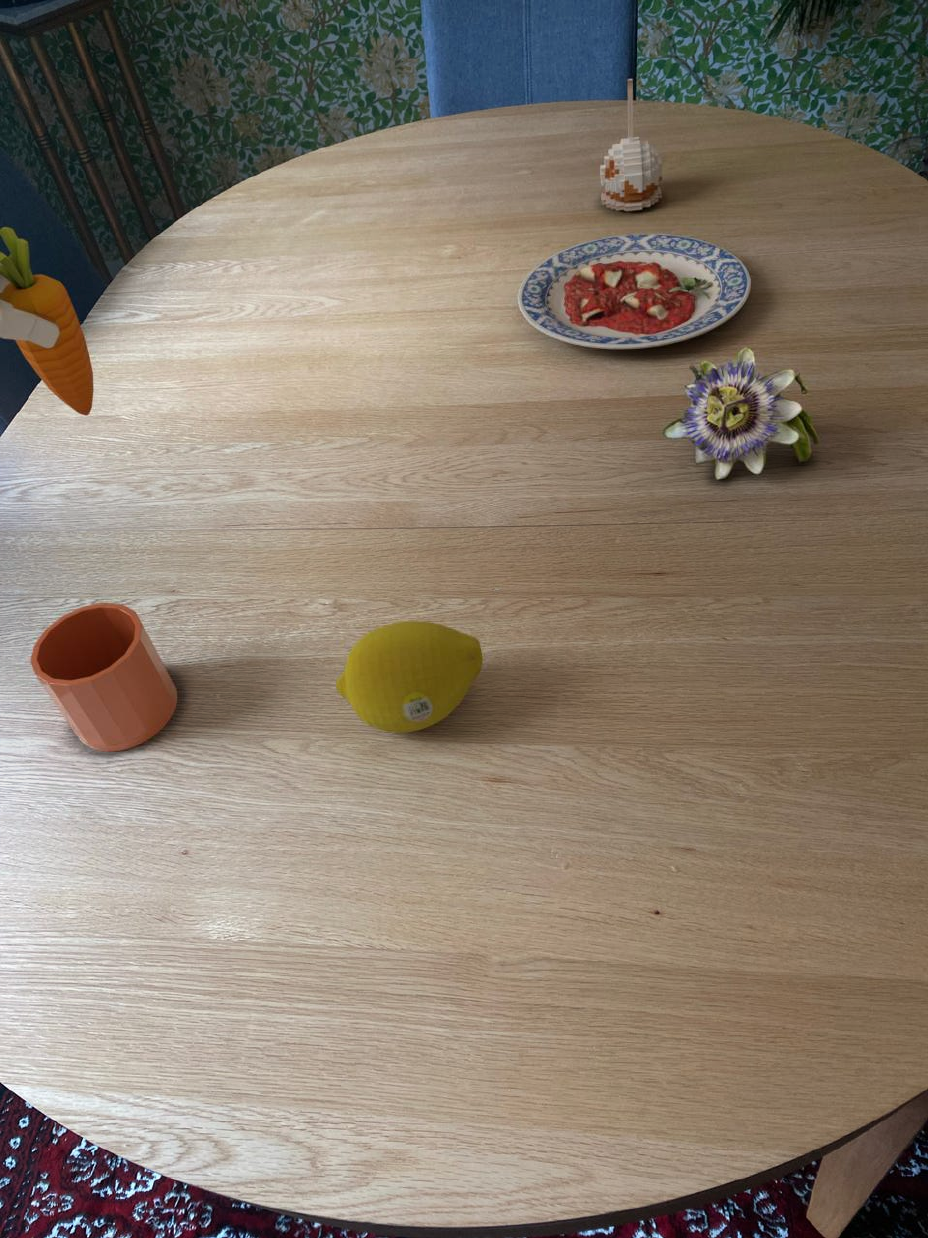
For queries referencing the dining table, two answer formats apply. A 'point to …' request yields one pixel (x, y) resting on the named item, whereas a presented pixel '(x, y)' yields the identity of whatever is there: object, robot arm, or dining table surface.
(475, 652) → the lemon
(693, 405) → the passion flower
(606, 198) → the decorative ornament
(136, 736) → the pot
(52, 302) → the carrot
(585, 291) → the ceramic plate
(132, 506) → the dining table surface
